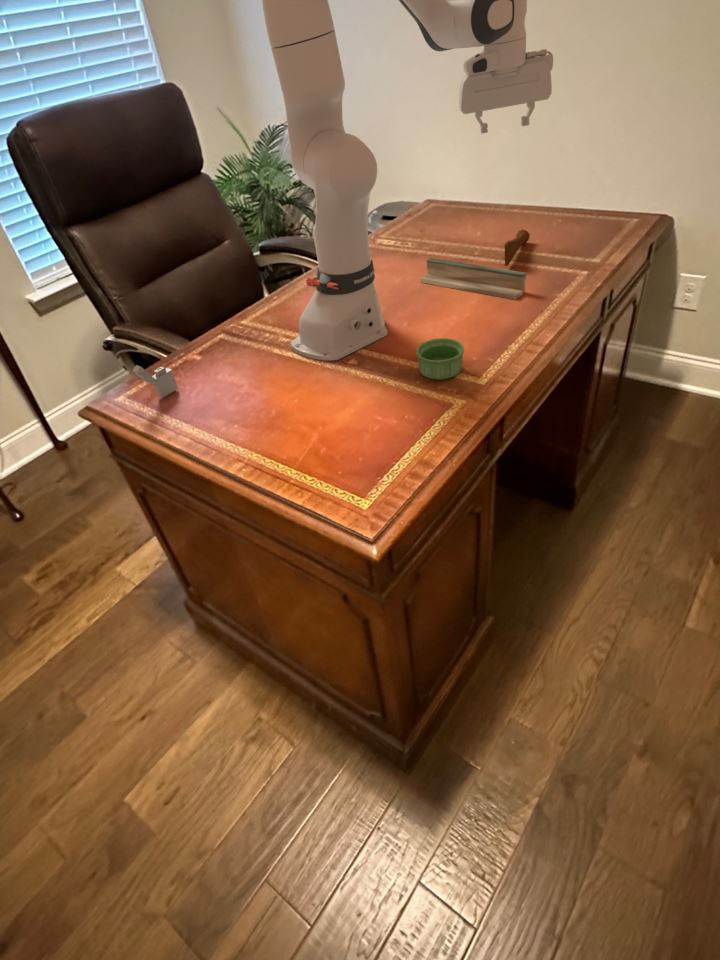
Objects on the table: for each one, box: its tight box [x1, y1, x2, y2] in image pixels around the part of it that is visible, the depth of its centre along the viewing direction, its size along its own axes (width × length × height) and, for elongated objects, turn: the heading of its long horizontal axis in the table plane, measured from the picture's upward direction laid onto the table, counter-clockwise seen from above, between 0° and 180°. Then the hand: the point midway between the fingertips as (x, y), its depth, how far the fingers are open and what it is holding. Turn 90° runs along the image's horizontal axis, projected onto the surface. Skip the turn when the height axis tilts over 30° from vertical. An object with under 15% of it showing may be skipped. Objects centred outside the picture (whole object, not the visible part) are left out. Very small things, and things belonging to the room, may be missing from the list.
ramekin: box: [415, 337, 465, 380], centre depth 111 cm, size 9×9×4 cm
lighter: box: [132, 364, 179, 398], centre depth 115 cm, size 7×2×8 cm, turn 143°
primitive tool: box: [504, 229, 530, 267], centre depth 149 cm, size 19×6×4 cm
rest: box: [420, 257, 527, 301], centre depth 139 cm, size 4×26×4 cm, turn 51°
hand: (504, 129), depth 136 cm, fingers open, 8 cm apart
